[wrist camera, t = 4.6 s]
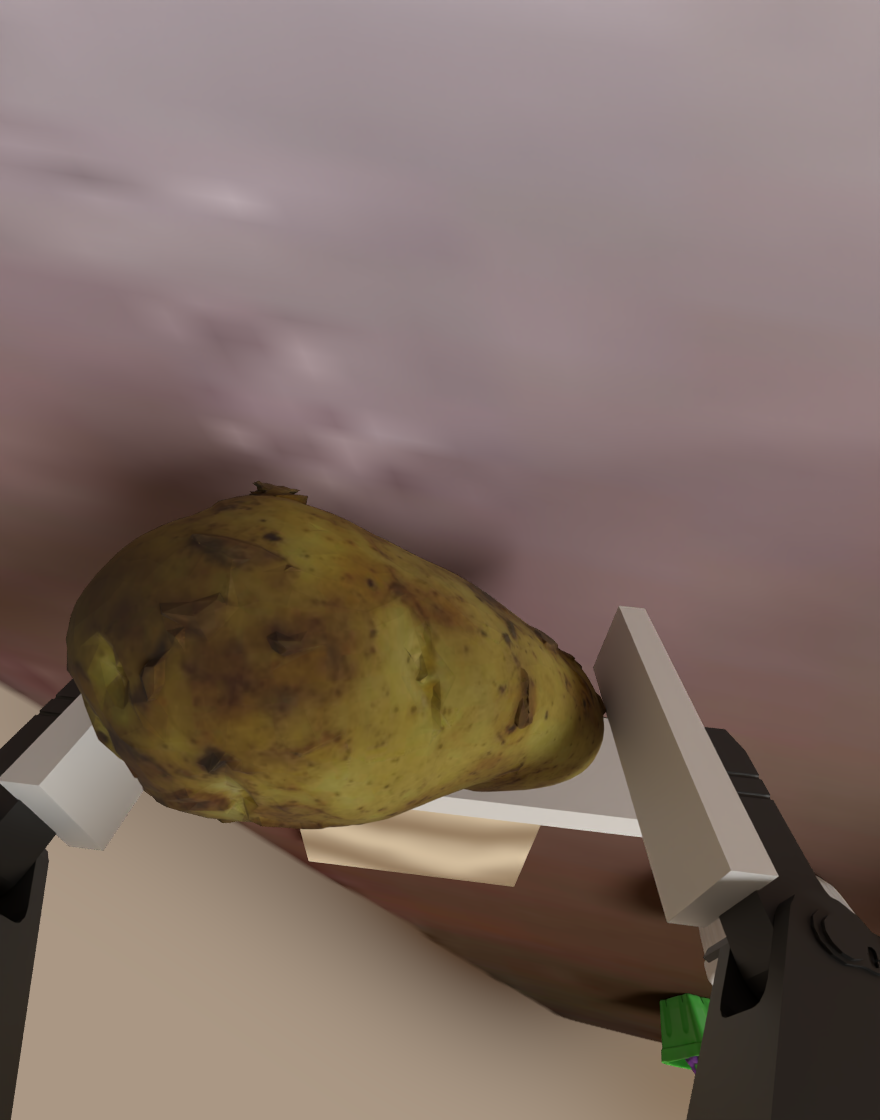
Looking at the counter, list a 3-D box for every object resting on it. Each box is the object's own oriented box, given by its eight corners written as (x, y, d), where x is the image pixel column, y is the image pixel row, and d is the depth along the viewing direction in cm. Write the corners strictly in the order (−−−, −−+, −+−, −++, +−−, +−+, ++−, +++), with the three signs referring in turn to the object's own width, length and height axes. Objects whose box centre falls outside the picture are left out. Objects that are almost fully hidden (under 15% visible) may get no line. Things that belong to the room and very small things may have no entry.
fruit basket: (643, 1000, 51) (680, 1159, 42) (691, 986, 46) (746, 1162, 37) (718, 1017, 53) (770, 1174, 43) (773, 1005, 48) (845, 1179, 38)
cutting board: (284, 707, 23) (273, 730, 22) (561, 738, 23) (566, 764, 22) (315, 839, 33) (308, 861, 32) (512, 863, 32) (513, 886, 31)
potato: (418, 724, 18) (383, 975, 12) (190, 493, 12) (-140, 736, 6) (603, 670, 15) (696, 966, 9) (419, 334, 9) (279, 459, 3)
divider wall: (207, 674, 22) (144, 760, 18) (646, 722, 22) (687, 825, 17) (213, 691, 23) (155, 778, 19) (637, 739, 22) (673, 841, 18)
